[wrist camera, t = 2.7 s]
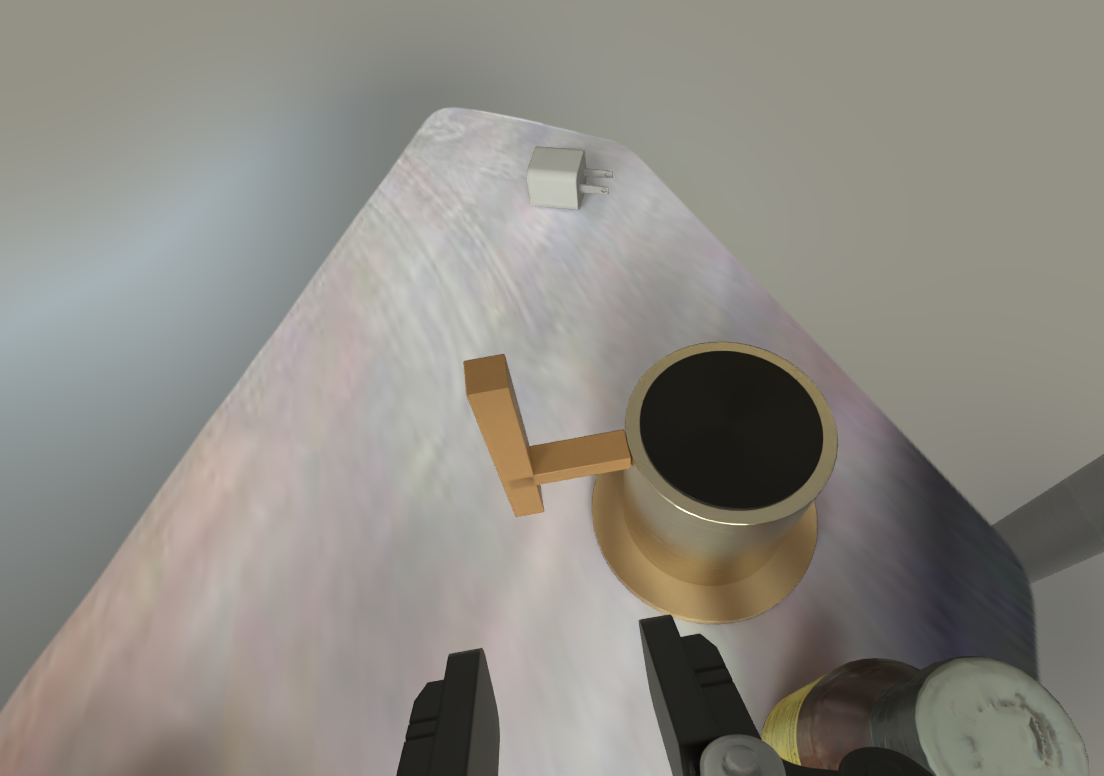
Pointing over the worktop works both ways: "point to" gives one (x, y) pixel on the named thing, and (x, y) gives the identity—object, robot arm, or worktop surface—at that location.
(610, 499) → the turntable
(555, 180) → the usb wall charger
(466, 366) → the flanged cylinder with handle
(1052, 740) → the sauce bottle
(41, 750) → the worktop surface
